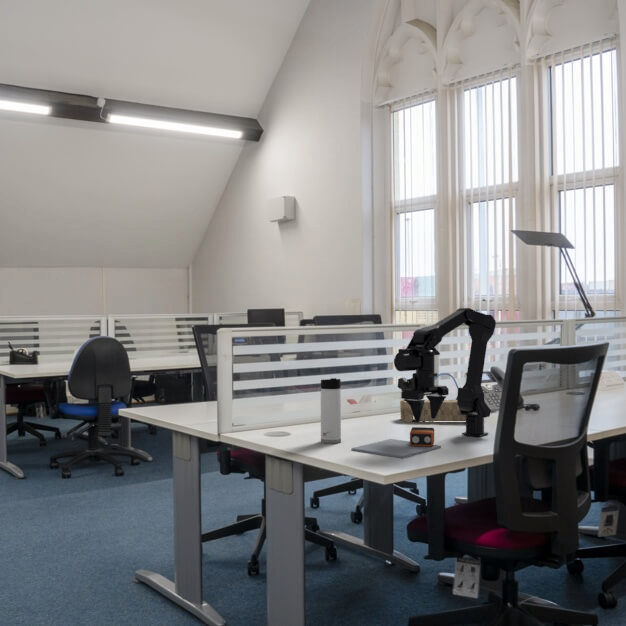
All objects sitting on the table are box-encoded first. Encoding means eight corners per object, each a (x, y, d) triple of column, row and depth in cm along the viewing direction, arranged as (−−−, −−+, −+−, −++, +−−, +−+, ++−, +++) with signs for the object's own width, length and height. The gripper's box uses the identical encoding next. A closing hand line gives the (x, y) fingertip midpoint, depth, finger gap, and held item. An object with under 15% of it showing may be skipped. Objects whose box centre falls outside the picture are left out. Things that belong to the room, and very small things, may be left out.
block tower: (400, 424, 267) (482, 423, 263) (399, 401, 267) (481, 400, 263) (401, 421, 275) (480, 420, 271) (400, 399, 275) (479, 397, 271)
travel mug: (324, 444, 223) (324, 378, 223) (318, 440, 229) (318, 376, 229) (344, 443, 225) (343, 378, 224) (337, 439, 231) (337, 376, 231)
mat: (390, 440, 229) (390, 438, 229) (440, 447, 217) (440, 445, 217) (351, 450, 213) (351, 448, 213) (403, 458, 202) (403, 455, 202)
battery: (411, 426, 225) (409, 432, 215) (434, 427, 223) (432, 432, 213) (411, 441, 225) (409, 446, 215) (434, 441, 223) (432, 447, 213)
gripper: (419, 366, 239) (419, 414, 239) (386, 370, 225) (386, 421, 225) (449, 368, 232) (449, 417, 232) (417, 372, 218) (417, 424, 218)
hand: (425, 420), depth 227 cm, fingers open, 9 cm apart
